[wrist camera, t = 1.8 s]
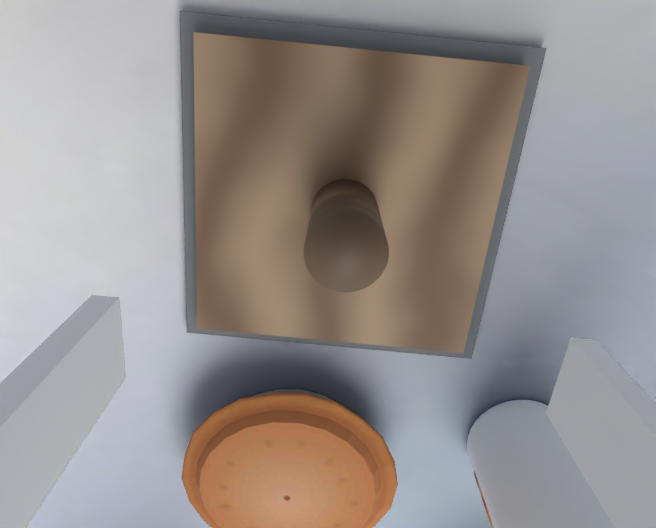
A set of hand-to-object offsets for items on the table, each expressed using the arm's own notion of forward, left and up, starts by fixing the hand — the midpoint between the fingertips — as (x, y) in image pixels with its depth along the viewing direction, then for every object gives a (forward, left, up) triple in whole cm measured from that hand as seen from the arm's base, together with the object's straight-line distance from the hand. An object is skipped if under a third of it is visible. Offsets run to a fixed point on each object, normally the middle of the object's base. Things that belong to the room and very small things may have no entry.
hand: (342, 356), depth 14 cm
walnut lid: (0, 0, -17) cm, 17 cm away
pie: (+2, +20, -18) cm, 27 cm away
